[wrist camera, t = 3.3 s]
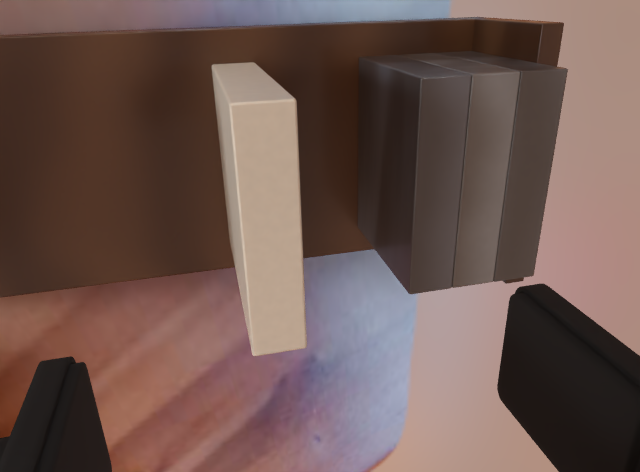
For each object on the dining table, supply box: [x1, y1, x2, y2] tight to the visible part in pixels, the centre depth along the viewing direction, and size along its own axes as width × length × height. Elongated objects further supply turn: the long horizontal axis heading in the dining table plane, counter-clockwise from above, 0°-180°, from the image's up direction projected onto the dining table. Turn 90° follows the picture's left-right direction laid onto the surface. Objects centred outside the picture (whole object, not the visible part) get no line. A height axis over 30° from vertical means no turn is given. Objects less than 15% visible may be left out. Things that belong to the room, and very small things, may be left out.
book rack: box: [0, 17, 567, 297], centre depth 23 cm, size 32×12×9 cm, turn 91°
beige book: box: [212, 62, 307, 356], centre depth 22 cm, size 2×9×10 cm, turn 1°
